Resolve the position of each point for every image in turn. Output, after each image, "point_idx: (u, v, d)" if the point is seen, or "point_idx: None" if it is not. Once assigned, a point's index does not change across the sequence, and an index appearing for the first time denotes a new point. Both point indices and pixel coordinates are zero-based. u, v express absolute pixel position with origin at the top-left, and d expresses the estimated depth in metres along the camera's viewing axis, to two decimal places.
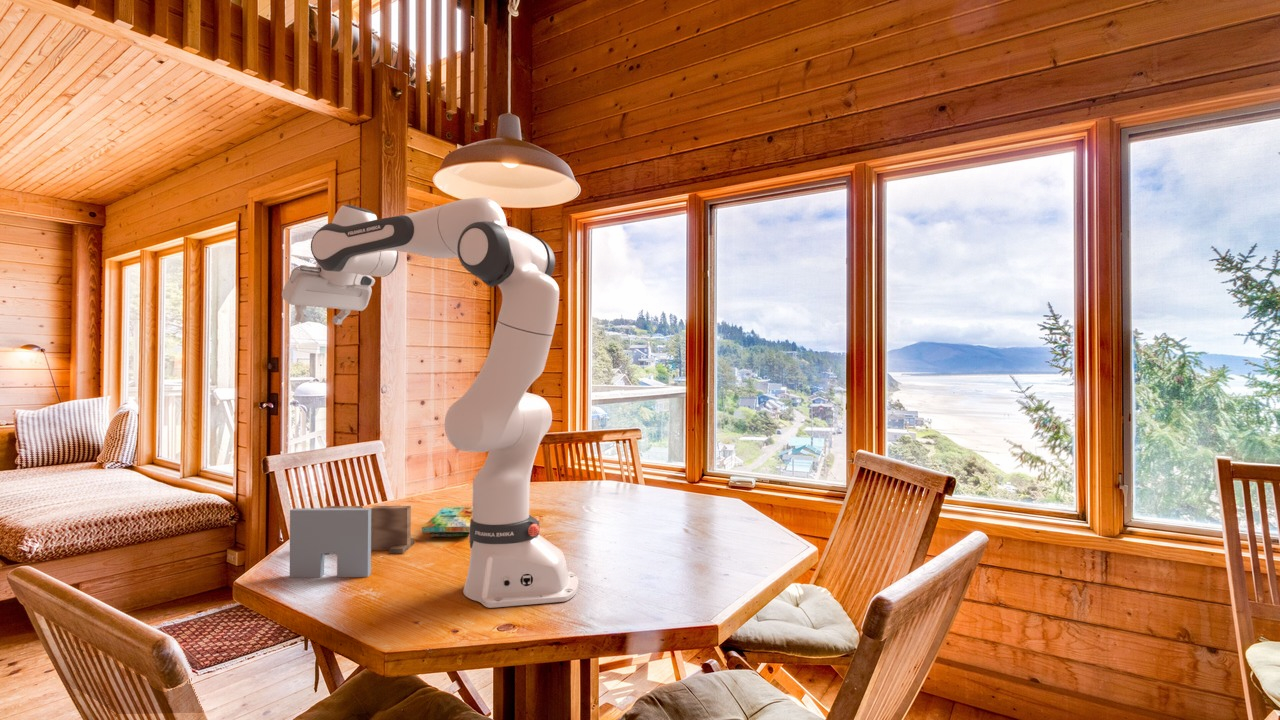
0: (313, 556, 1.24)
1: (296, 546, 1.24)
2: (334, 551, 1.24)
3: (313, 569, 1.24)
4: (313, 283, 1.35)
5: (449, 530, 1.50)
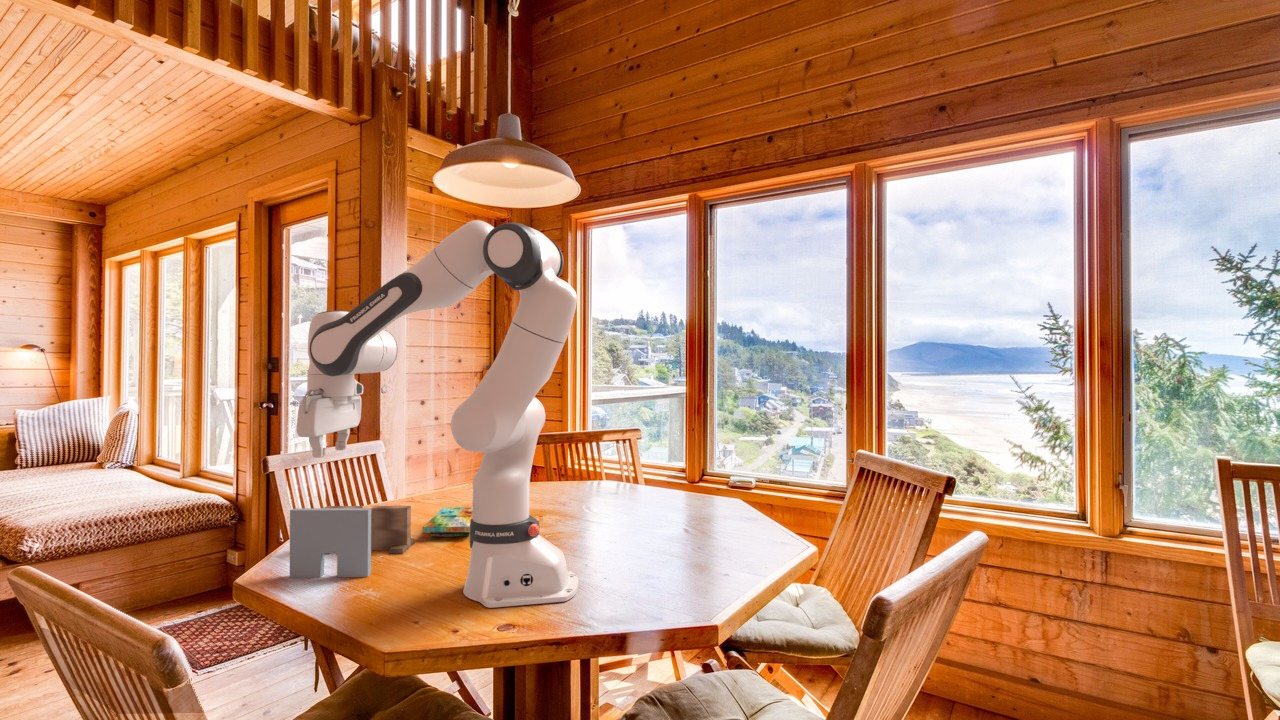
0: (313, 556, 1.24)
1: (296, 546, 1.24)
2: (334, 551, 1.24)
3: (313, 569, 1.24)
4: (325, 406, 1.20)
5: (450, 530, 1.50)
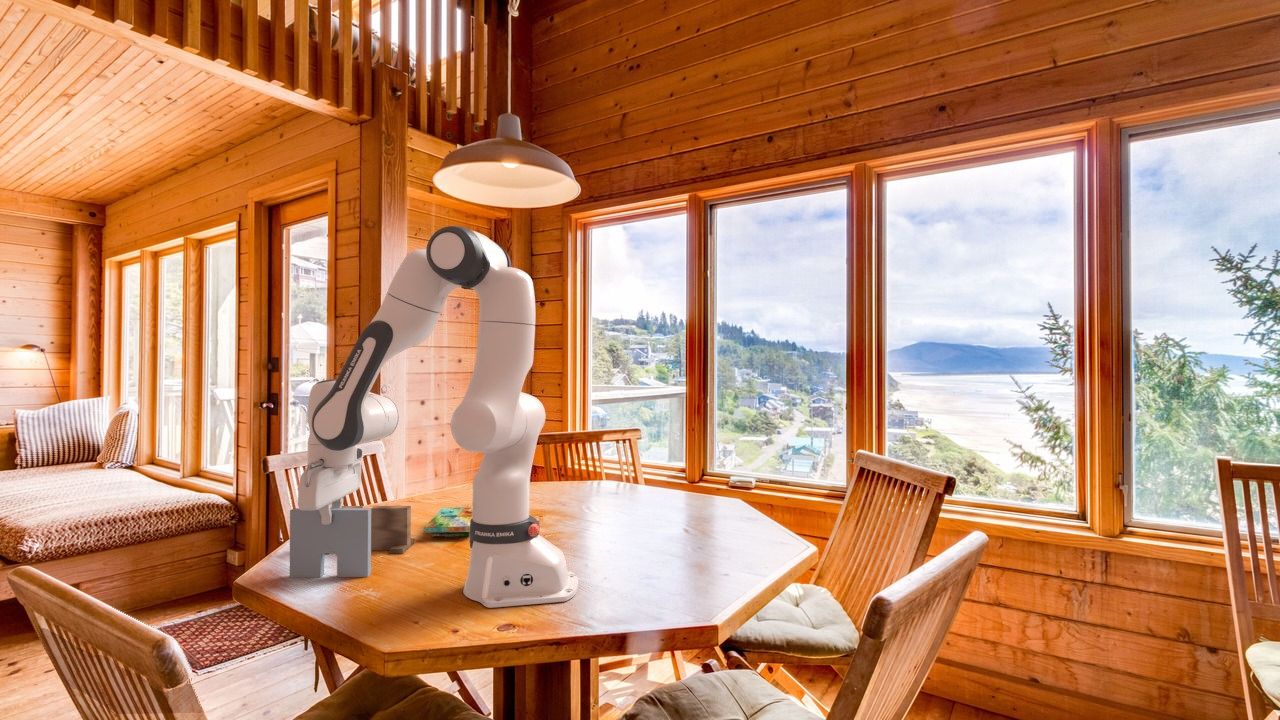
0: (313, 556, 1.24)
1: (296, 546, 1.24)
2: (334, 551, 1.24)
3: (313, 569, 1.24)
4: (326, 477, 1.19)
5: (451, 530, 1.50)
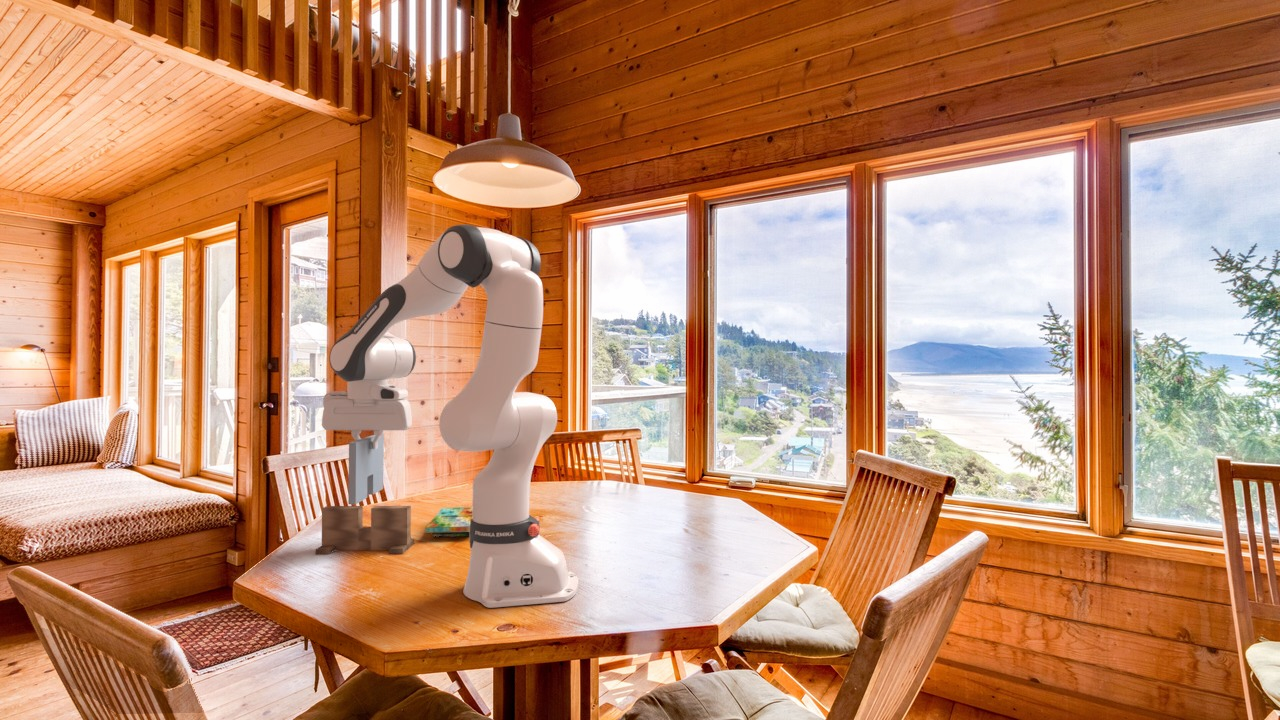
0: None
1: None
2: None
3: None
4: (339, 405, 1.41)
5: (453, 530, 1.50)
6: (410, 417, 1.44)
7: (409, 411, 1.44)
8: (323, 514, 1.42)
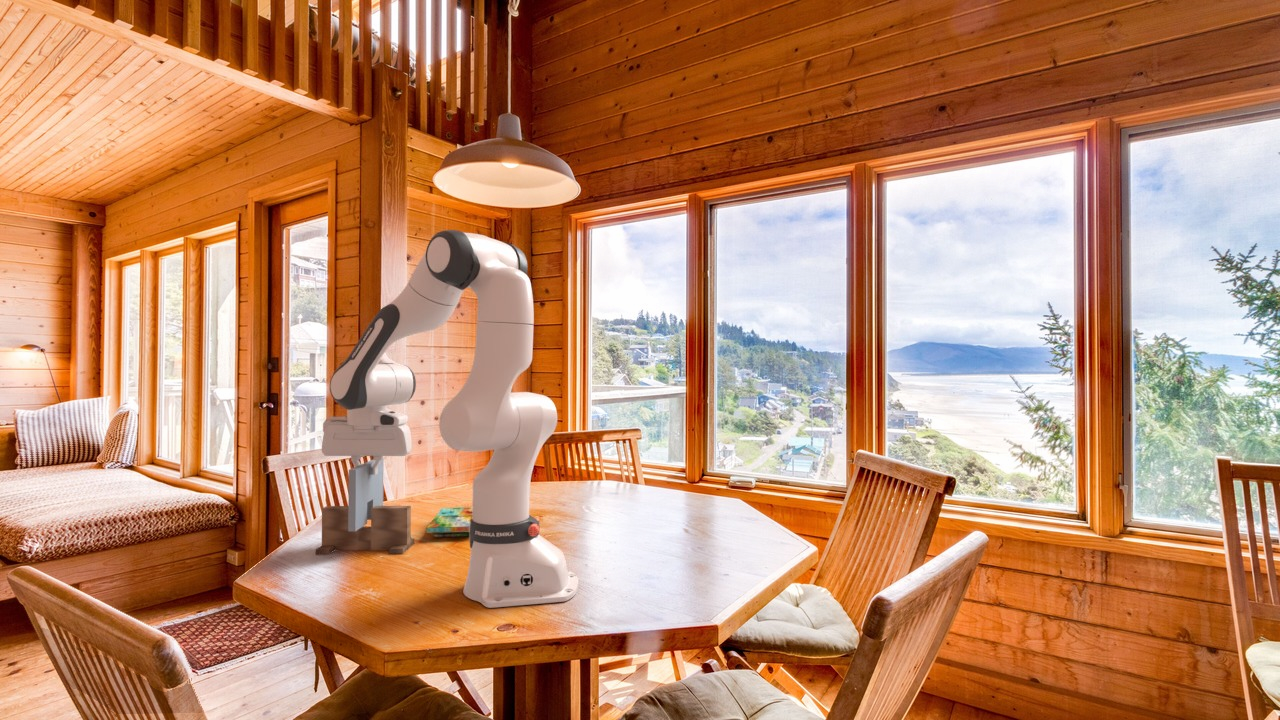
0: None
1: None
2: None
3: None
4: (338, 431, 1.41)
5: (454, 530, 1.50)
6: (410, 442, 1.44)
7: (409, 436, 1.44)
8: (323, 514, 1.42)
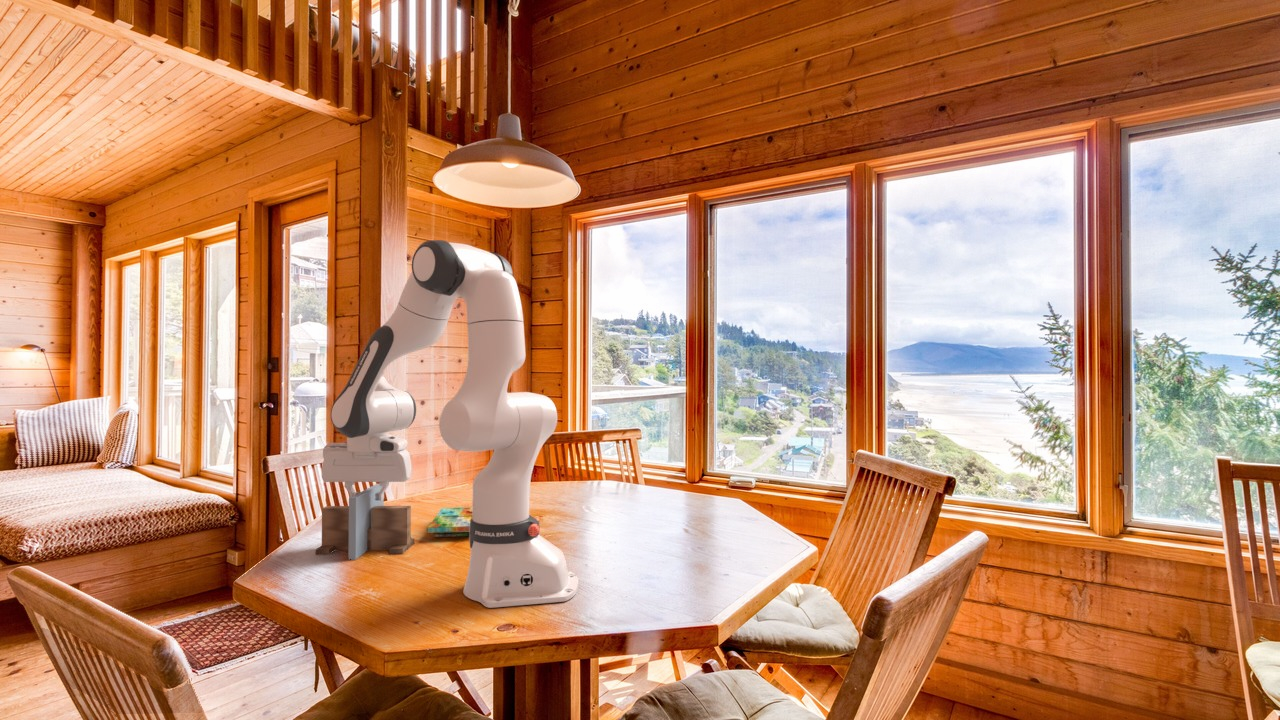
0: None
1: None
2: None
3: None
4: (338, 457, 1.41)
5: (455, 530, 1.50)
6: (410, 468, 1.44)
7: (409, 461, 1.44)
8: (323, 514, 1.42)
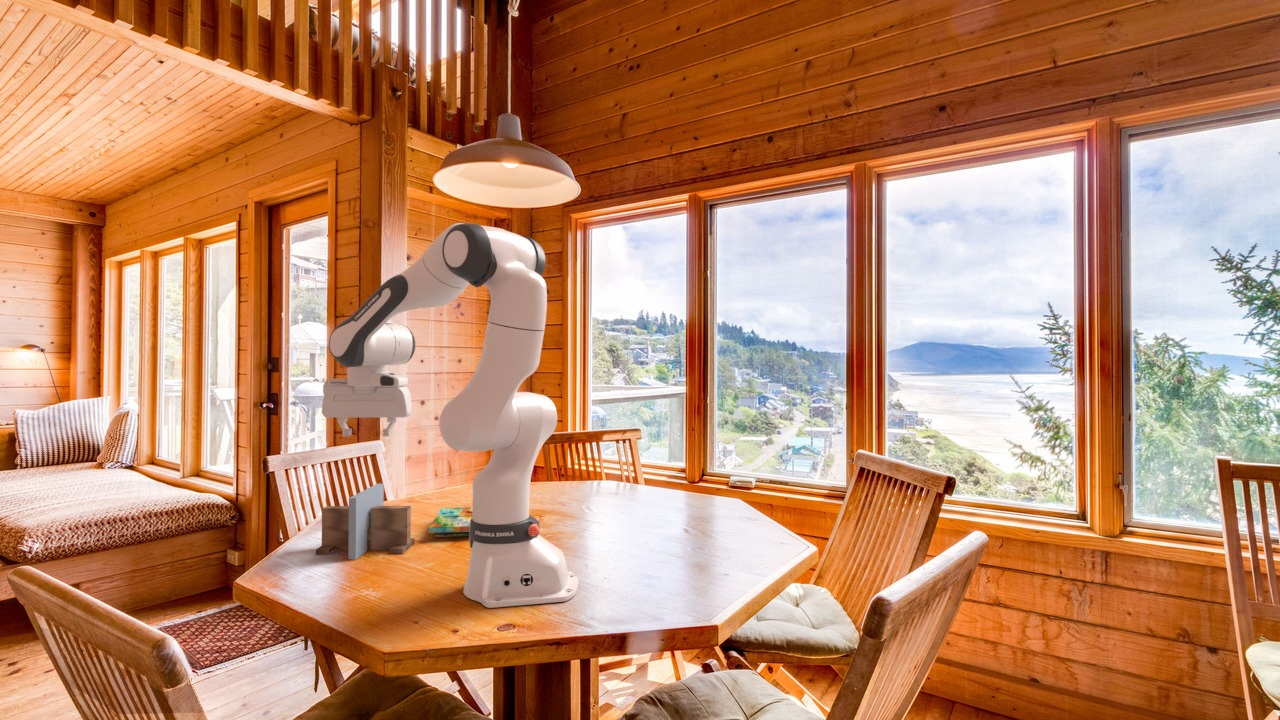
0: None
1: None
2: None
3: None
4: (339, 392, 1.41)
5: (456, 530, 1.50)
6: (410, 404, 1.44)
7: (409, 398, 1.44)
8: (323, 514, 1.42)
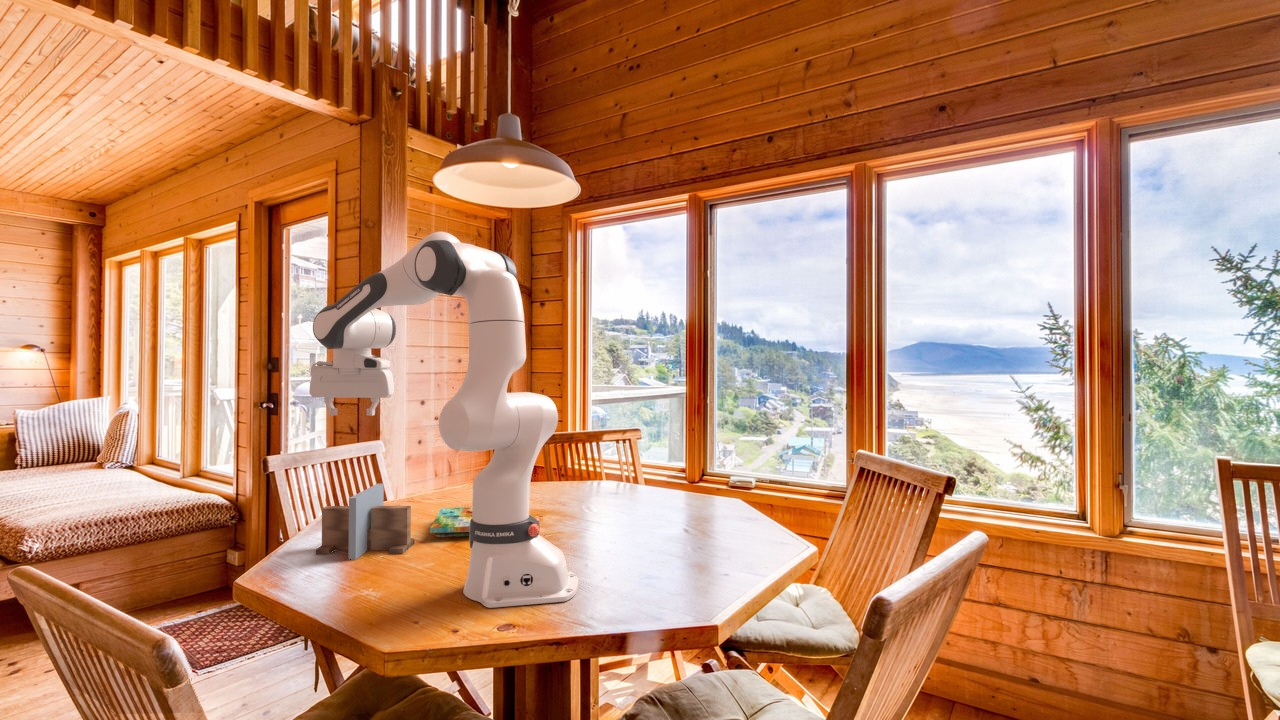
0: None
1: None
2: None
3: None
4: (325, 374, 1.51)
5: (457, 530, 1.50)
6: (392, 386, 1.54)
7: (391, 380, 1.54)
8: (323, 514, 1.42)
